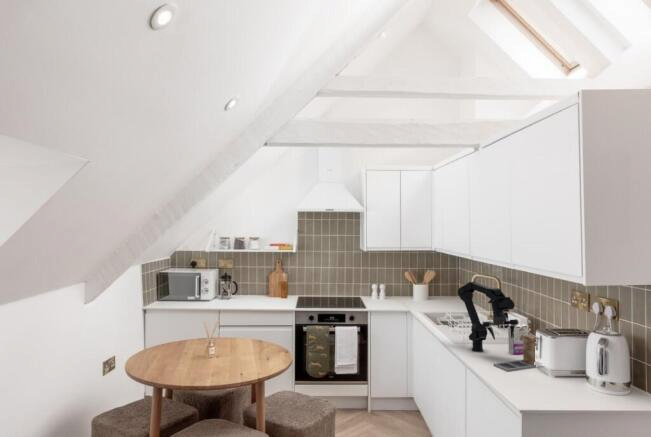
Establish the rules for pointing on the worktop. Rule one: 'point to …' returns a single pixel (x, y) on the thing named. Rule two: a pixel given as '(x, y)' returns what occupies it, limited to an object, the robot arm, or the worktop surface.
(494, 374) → the worktop surface
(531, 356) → the walnut block
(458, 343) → the worktop surface
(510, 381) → the worktop surface
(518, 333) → the candy bar box
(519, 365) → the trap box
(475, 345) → the robot arm
